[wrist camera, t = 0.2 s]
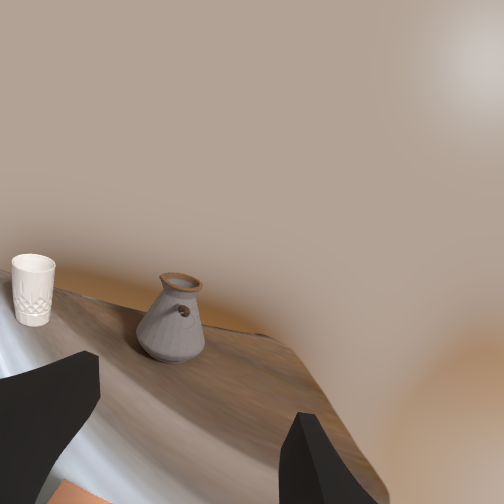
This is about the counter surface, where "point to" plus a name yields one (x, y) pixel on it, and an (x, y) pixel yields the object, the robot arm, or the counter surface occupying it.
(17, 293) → the white cup
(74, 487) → the terracotta block
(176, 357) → the coffee pot
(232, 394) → the counter surface
